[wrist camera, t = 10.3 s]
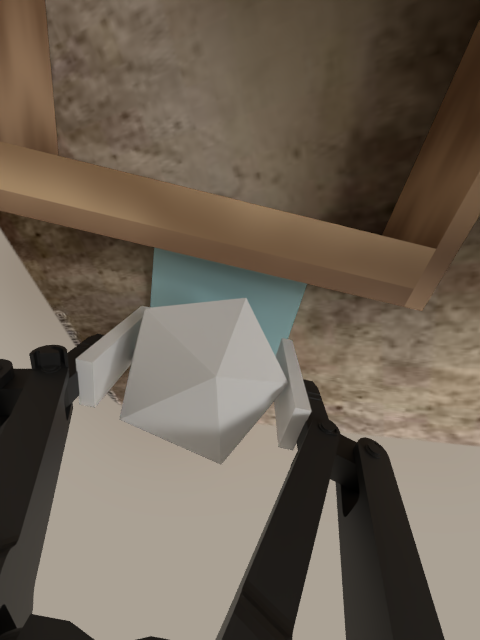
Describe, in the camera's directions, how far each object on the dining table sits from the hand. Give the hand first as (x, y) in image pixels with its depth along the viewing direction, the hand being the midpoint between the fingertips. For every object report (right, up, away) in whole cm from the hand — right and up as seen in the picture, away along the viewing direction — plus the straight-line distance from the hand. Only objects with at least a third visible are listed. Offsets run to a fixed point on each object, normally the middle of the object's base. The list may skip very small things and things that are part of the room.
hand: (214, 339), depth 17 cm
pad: (0, +1, +3) cm, 3 cm away
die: (0, 0, 0) cm, 0 cm away
